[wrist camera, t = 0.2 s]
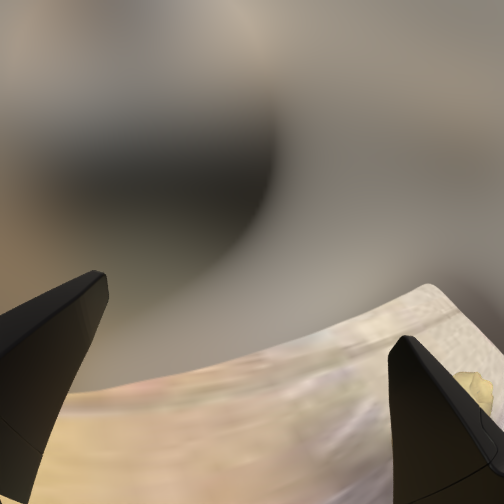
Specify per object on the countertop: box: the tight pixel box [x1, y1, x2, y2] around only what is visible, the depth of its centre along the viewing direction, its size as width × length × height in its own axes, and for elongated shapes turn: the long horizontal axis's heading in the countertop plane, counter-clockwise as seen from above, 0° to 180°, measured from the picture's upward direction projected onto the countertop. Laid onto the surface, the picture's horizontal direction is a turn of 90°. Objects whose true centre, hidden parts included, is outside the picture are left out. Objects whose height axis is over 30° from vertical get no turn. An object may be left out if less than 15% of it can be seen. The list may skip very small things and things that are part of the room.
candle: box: [392, 372, 493, 447], centre depth 17 cm, size 6×6×10 cm
